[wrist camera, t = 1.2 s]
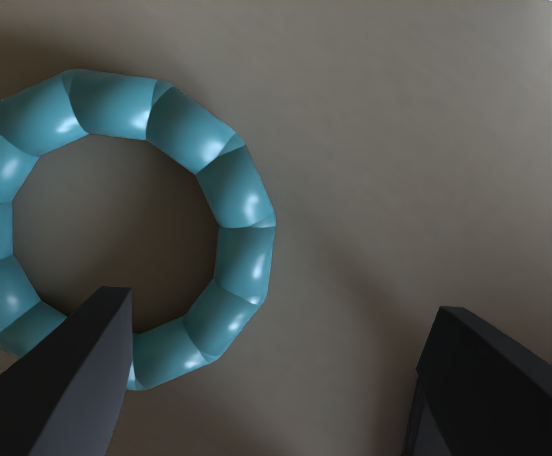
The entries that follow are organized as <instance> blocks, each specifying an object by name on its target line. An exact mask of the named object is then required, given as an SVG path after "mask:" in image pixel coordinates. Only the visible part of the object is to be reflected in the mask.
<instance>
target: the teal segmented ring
mask: <svg viewBox="0 0 552 456" xmlns="http://www.w3.org/2000/svg"><path fill="white" fill-rule="evenodd" d="M88 134H98V135H106V136H114V137H123V138H131V139H139V140H147V141H149V142H150V143H152V144H153V145H154V146H156V147H157V148H159V149H160V150H161V151H163V152H164V153H165V154H167V155H168V156H170V157H171V158H172V159H174V160H175V161H177V162H178V163H179V164H181V165H182V166H183V167H185V168H186V169H188V170H189V171H190V172H192V173H193V174H194V175H196V178H197V180H198V182H199V184H200V186H201V188H202V190H203V193H204V195H205V197H206V199H207V201H208V203H209V205H210V207H211V210H212V212H213V214H214V216H215V218H216V220H217V222H218V225H219V232H218V242H217V253H216V263H215V274H214V277H213V279H212V280H211V281H210V283H209V284H208V285H207V287H206V288H205V289H204V291H203V292H202V293H201V295H200V296H199V297H198V299H197V300H196V301H195V303H194V304H193V305H192V307H191V308H190V309H189V311H188V312H187V313H186V315H184V316H182V317H179V318H177V319H175V320H172V321H170V322H168V323H165V324H163V325H160V326H158V327H156V328H153V329H151V330H149V331H146V332H144V333H141V334H133V333H132V364H131V368H130V373H129V378H128V382H127V387H126V389H128V390H146V389H149V388H152V387H154V386H157V385H159V384H162V383H164V382H166V381H169V380H171V379H174V378H176V377H178V376H181V375H183V374H186V373H188V372H190V371H193V370H195V369H198V368H200V367H202V366H205V365H207V364H210V363H212V362H214V361H216V360H217V359H218V358H219V357H220V356H221V355H222V354H223V353H224V352H225V351H226V349H227V348H228V347H229V345H230V344H231V343H232V342H233V340H234V339H235V338H236V336H237V335H238V334H239V333H240V331H241V330H242V329H243V327H244V326H245V325H246V324H247V322H248V321H249V320H250V319H251V317H252V316H253V315H254V313H255V312H256V311H257V310H258V308H259V307H260V306H261V304H262V303H263V301H264V300H265V298H266V295H267V291H268V284H269V276H270V268H271V260H272V252H273V244H274V236H275V228H276V215H275V212H274V209H273V206H272V204H271V202H270V200H269V197H268V195H267V193H266V190H265V188H264V186H263V183H262V181H261V179H260V176H259V174H258V172H257V170H256V167H255V165H254V163H253V160H252V158H251V156H250V153H249V151H248V149H247V146H246V144H245V142H244V140H243V139H242V138H241V136H240V135H239V134H237V133H236V132H235V131H234V130H232V129H231V128H230V127H228V126H227V125H226V124H225V123H223V122H222V121H221V120H219V119H218V118H217V117H215V116H214V115H213V114H211V113H210V112H209V111H207V110H206V109H205V108H203V107H202V106H201V105H199V104H198V103H197V102H196V101H194V100H193V99H192V98H190V97H189V96H188V95H186V94H185V93H184V92H182V91H181V90H180V89H178V88H177V87H176V86H174V85H173V84H171V83H169V82H167V81H164V80H159V79H151V78H144V77H136V76H129V75H121V74H114V73H106V72H99V71H91V70H84V69H71V70H67V71H65V72H62V73H60V74H58V75H56V76H53V77H51V78H49V79H47V80H44V81H42V82H40V83H38V84H36V85H33V86H31V87H29V88H27V89H24V90H22V91H20V92H18V93H16V94H13V95H11V96H9V97H7V98H5V99H2V100H0V348H1V349H3V350H4V351H6V352H8V353H9V354H11V355H13V356H14V357H16V358H18V359H20V358H22V357H23V356H24V355H25V354H26V353H28V352H29V351H30V350H31V349H32V348H33V347H35V346H36V345H37V344H38V343H39V342H40V341H41V340H43V339H44V338H45V337H46V336H47V335H48V334H50V333H51V332H52V331H53V330H54V329H55V328H56V327H58V326H59V325H60V324H61V323H62V322H63V321H64V320H65V319H66V318H67V316H65V315H64V314H62V313H60V312H59V311H57V310H56V309H54V308H52V307H51V306H49V305H47V304H46V303H44V302H43V301H41V300H40V298H39V296H38V295H37V293H36V291H35V289H34V288H33V286H32V284H31V283H30V281H29V279H28V278H27V276H26V274H25V273H24V271H23V269H22V268H21V266H20V264H19V262H18V261H17V259H16V257H15V256H14V254H13V198H14V197H15V195H16V194H17V192H18V190H19V189H20V187H21V186H22V184H23V183H24V181H25V180H26V178H27V177H28V175H29V173H30V172H31V170H32V169H33V167H34V166H35V164H36V163H37V161H38V159H39V158H40V156H41V155H43V154H46V153H48V152H50V151H52V150H55V149H57V148H59V147H61V146H64V145H66V144H68V143H70V142H73V141H75V140H77V139H79V138H82V137H84V136H86V135H88Z"/></svg>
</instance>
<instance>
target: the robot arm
mask: <svg viewBox="0 0 552 456" xmlns="http://www.w3.org/2000/svg"><path fill="white" fill-rule="evenodd" d="M131 364H132V288H130V287H113V286H102V287H100V288H99V289H98V290H96V291H95V292H94V293H93V294H92V295H91V296H90V297H89V298H88V299H87V300H86V301H85V302H84V303H83V304H81V305H80V306H79V307H78V308H77V309H76V310H75V311H74V312H73V313H72V314H71V315H70V316H69V317H67V318H66V319H65V320H64V321H63V322H62V323H61V324H60V325H59V326H58V327H56V328H55V329H54V330H53V331H52V332H51V333H50V334H48V335H47V336H46V337H45V338H44V339H43V340H41V341H40V342H39V343H38V344H37V345H36V346H35V347H33V348H32V349H31V350H30V351H29V352H28V353H26V354H25V355H24V356H23V357H22V358H20V359H19V360H18V361H16V362H15V363H14V364H13V365H11V366H10V367H9V368H8V369H6V370H5V371H4V372H3V373H1V374H0V456H105V454H106V452H107V449H108V446H109V443H110V440H111V437H112V434H113V431H114V428H115V425H116V422H117V419H118V416H119V413H120V410H121V407H122V404H123V400H124V396H125V391H126V387H127V382H128V378H129V373H130V368H131ZM416 372H417V375H418V379H419V382H420V385H421V388H422V391H423V394H424V397H425V400H426V402H427V405H428V408H429V410H430V412H431V415H432V417H433V419H434V421H435V423H436V425H437V427H438V429H439V431H440V433H441V435H442V437H443V439H444V442H445V444H446V446H447V448H448V450H449V452H450V454H451V456H552V365H550V364H549V363H547V362H546V361H545V360H543V359H542V358H540V357H539V356H537V355H536V354H534V353H533V352H531V351H530V350H528V349H527V348H525V347H524V346H522V345H521V344H519V343H518V342H517V341H515V340H514V339H512V338H511V337H509V336H508V335H506V334H505V333H503V332H502V331H500V330H499V329H497V328H496V327H494V326H493V325H491V324H490V323H488V322H487V321H485V320H484V319H482V318H480V317H479V316H477V315H476V314H474V313H472V312H471V311H469V310H467V309H465V308H463V307H449V306H440V307H439V310H438V312H437V315H436V317H435V320H434V322H433V325H432V328H431V330H430V333H429V335H428V338H427V340H426V343H425V346H424V348H423V351H422V353H421V356H420V358H419V361H418V364H417V366H416Z"/></svg>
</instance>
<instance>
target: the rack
mask: <svg viewBox="0 0 552 456" xmlns="http://www.w3.org/2000/svg"><path fill="white" fill-rule="evenodd" d="M401 456H451V454H450V452H449V450H448V448H447V446H446V444H445V442H444V439H443V437H442V435H441V433H440V431H439V429H438V427H437V425H436V423H435V421H434V419H433V417H432V415H431V412H430V410H429V408H428V405H427V402H426V400H425V397H424V394H423V391H422V388H421V385H420V382H419V379H417V384H416V388H415V393H414V398H413V403H412V407H411V412H410V417H409V422H408V426H407V431H406V436H405V441H404V445H403V450H402V455H401Z"/></svg>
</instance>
